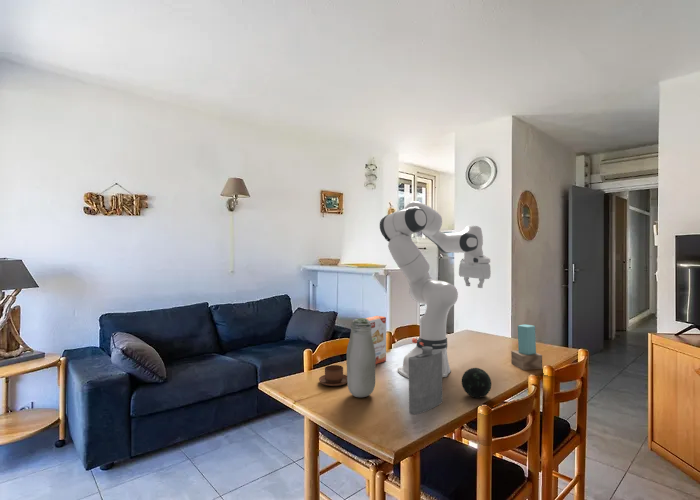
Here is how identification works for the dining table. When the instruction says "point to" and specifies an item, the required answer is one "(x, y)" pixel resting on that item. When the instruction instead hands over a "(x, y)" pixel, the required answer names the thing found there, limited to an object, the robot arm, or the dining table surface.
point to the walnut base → (526, 360)
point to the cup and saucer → (333, 376)
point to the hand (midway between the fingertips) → (473, 287)
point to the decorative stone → (476, 382)
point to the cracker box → (379, 337)
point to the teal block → (526, 339)
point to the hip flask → (425, 380)
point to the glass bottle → (361, 359)
